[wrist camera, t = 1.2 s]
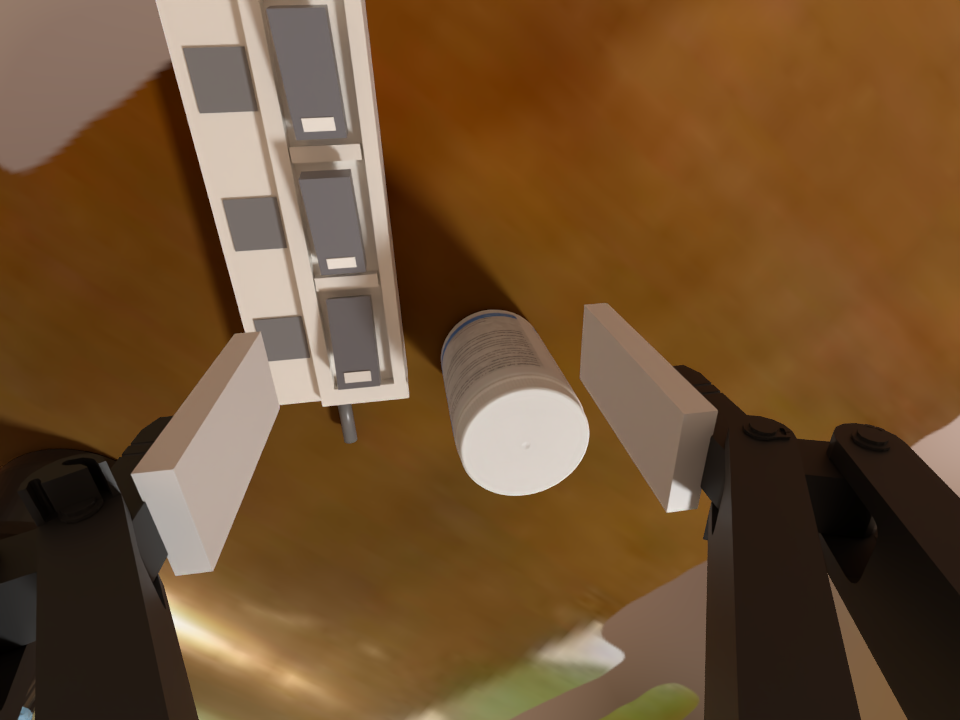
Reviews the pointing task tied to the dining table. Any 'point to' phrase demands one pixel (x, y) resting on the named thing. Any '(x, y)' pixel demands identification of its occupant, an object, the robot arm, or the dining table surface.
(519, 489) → the supplement tub
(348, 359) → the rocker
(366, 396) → the power strip
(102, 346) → the dining table surface
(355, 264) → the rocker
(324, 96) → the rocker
